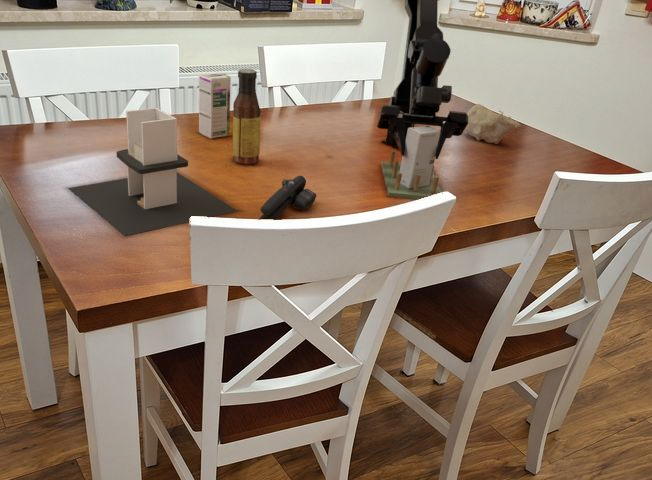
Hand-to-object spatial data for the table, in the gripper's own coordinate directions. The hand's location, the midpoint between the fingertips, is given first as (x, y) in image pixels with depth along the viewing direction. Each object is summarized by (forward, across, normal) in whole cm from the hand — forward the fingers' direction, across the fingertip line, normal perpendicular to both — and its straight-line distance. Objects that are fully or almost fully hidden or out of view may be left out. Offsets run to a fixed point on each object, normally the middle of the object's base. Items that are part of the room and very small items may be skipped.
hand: (419, 156), depth 140 cm
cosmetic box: (+4, 0, +6) cm, 7 cm away
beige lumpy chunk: (-25, +27, +37) cm, 53 cm away
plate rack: (+2, 0, +9) cm, 9 cm away
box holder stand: (+19, -54, -8) cm, 58 cm away
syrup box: (-13, -48, +25) cm, 56 cm away
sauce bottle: (-1, -38, +12) cm, 40 cm away
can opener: (+19, -28, -8) cm, 35 cm away
